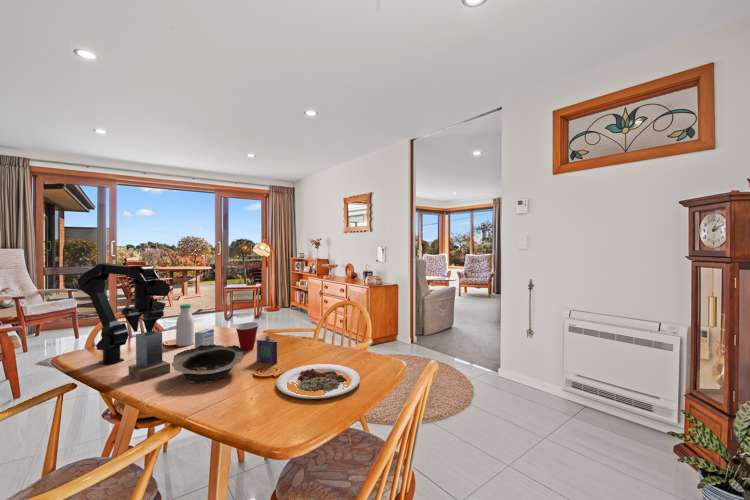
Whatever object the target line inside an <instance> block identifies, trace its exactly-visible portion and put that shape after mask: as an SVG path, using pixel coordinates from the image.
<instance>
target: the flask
mask: <svg viewBox="0 0 750 500" xmlns="http://www.w3.org/2000/svg"><path fill="white" fill-rule="evenodd" d="M270 336H271V335H270V334H269V335H265V336H264V338H256V362H257V363H263V364H269V365H277V364H278V341H277V340H275V339H273V338H271V337H270Z"/></svg>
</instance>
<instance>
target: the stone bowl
mask: <svg viewBox="0 0 750 500" xmlns="http://www.w3.org/2000/svg"><path fill="white" fill-rule="evenodd" d="M243 359H244V351H243V350H242V349H241V348H240V345H239V346H238V345H228V346H224V345H218V344H215V343H214V345H205V346H204V345H201V346H198V347H196V348H195V347H194V348H193V347H192V348H190V349H186V350H183V351H180V352H178V353H176V354H174V355H173V358H172V362H171V363H170V365H171V366H172V368H173V370H174V371H176V372H178V373H181V374H182V375H183V378H184V379H185V381H187V382H192V383H193V384H196V385H197V384H198V385H199V384H201V383H213V382H215V381H217V380H218V379H221V378H223V377H224V376H226V375H228V374H229V373H230V372H231V371H232V370H233V368H234V367H236V365H237V364H240V363H241V362H242V361H243Z"/></svg>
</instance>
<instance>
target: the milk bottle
mask: <svg viewBox="0 0 750 500" xmlns="http://www.w3.org/2000/svg"><path fill="white" fill-rule="evenodd" d="M191 306H192V305H191V303H182V304H180V305H179V308H180V309H179V310H180V313H179V315H178V316H177V319H176V324H175V325H176V326H175V327H176V329H175V331H176V332H175V345H176V346H177V345H178V346H177V347H188V346H191V345H194V344H195V319H194V316H193V314H192V312H191V308H192V307H191Z"/></svg>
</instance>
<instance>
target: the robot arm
mask: <svg viewBox="0 0 750 500" xmlns="http://www.w3.org/2000/svg"><path fill="white" fill-rule="evenodd" d="M110 274H112V275H122V276H127V277H129V279H133V280H131V281H130V282H129V285H134V287H133V288H134V291H133V293H134V294H133V297H132V298H131V301H132V302H133V304H134V305H132V306H127V307H123V308H122V309H121V315H122V316H123V317H124V318H125V319H126V321H127V322H128V324H129V325H130V327H131V329H132V331H133V332H134V333H136V332H138V330H139V323H140V318H141V317H142V316H143V317H142V321H143V325H144V329H145V332H149V331H154V327H155V325H156V323H157V321H158V320H159V319H161V318H162V317H164V315H165V312H164V310H165V307H166V302H162V301H158V299H155V298H154V297H166V296H168V295H169V294H170V292H171V287H170V284H169V283H168V282H167V279H160V277H159V275H158V274H157V272H156V271H155V269H154V267H153V265H151V264H142V265H126V264H125V265H124V264H116V263H115V264H114V263H110V262H103V263H101V262H100V263H98V264H96V265H95V266H94V267H93V268H91V269H89V270H87V271H85V272H84V273H83V274H82V275H80V276H79V278H78V279H77V285H78V287H79V289H80V290H81V291H82V292H83V293H84V294H86V295H88V296H89V299H90V300H91V302H92V304H93V307H94V309H95V311H96V314H97V317H98V319H99V321H100V323H101V326H102V329H101V332H100V335H101V339H100V340H99V341H98V342H97V343H96V344H95V346H96V347H95V348H96V350H98V351H102V360H99V361H98V363H99V364H102V365H105V366H106V365H107V366H108V365H112V364H115V363H119V362H124V361H125V359H124V358H121V346H124V345H126V343H127V340H128V338H129V329H128V327H127V325H126V323H125V322H122V323H120V322H119V321H118V320H117V318H116V315H115V312H114V311H113V308H112V306H111V304H110V301H109V299H108V297H107V295H106V293H105V290H106V286H107V284H106V281H107V280H108V279H109V277H110Z"/></svg>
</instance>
